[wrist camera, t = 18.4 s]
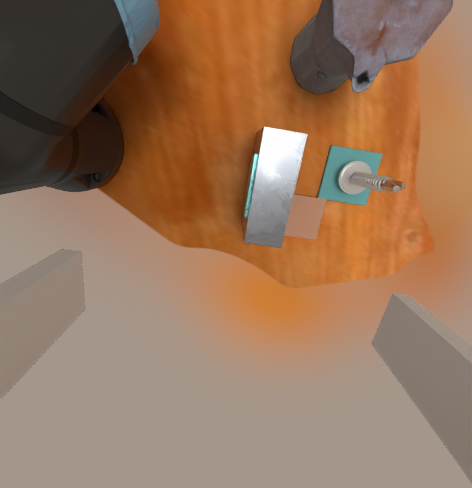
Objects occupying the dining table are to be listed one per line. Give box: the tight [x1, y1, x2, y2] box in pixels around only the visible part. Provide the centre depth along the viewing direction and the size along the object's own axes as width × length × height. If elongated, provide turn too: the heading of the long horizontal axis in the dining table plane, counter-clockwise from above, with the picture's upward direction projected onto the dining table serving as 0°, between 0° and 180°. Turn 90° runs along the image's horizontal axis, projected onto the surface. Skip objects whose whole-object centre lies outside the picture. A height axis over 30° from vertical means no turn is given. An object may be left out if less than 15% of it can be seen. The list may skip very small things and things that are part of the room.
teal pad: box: [317, 145, 383, 205], centre depth 40 cm, size 8×8×1 cm
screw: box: [338, 161, 405, 194], centre depth 33 cm, size 13×5×5 cm
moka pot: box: [290, 0, 453, 94], centre depth 25 cm, size 10×15×20 cm, turn 173°
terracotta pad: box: [284, 194, 327, 240], centre depth 42 cm, size 7×7×1 cm
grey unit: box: [242, 127, 307, 248], centre depth 35 cm, size 5×14×10 cm, turn 171°
